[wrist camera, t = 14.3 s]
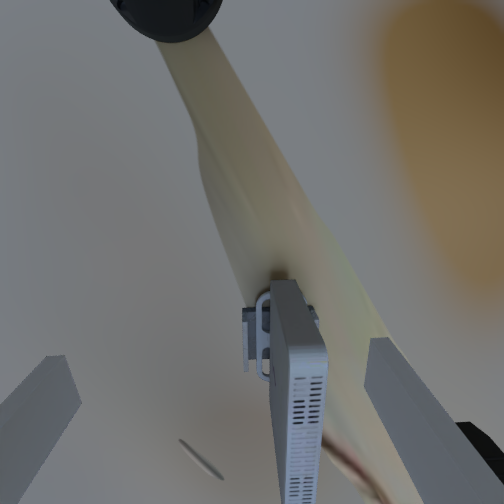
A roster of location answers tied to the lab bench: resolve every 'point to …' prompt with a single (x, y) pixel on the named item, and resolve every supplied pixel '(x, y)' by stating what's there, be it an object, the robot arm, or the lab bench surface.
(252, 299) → the lab bench surface
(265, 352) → the bracket
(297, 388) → the network device
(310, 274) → the lab bench surface
